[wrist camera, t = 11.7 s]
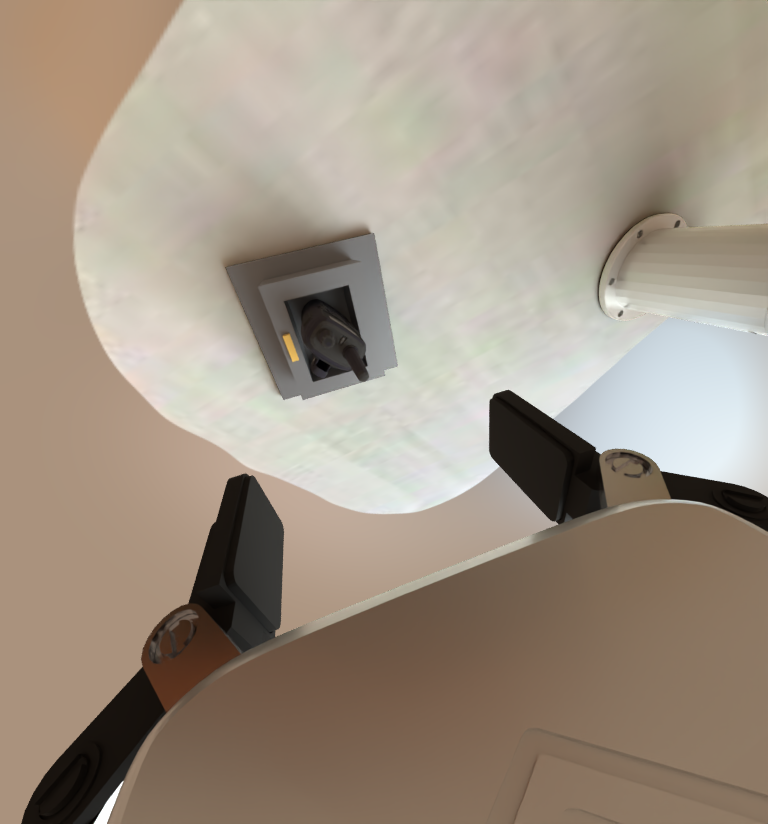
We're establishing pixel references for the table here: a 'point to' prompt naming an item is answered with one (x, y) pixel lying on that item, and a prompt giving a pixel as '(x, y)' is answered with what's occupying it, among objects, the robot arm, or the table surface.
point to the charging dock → (329, 282)
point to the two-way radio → (332, 340)
